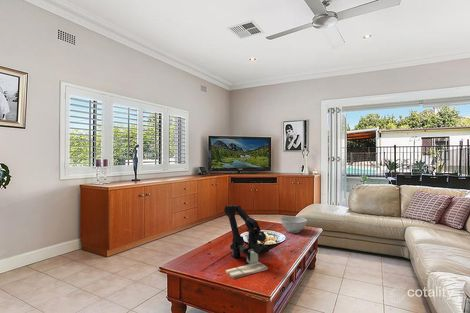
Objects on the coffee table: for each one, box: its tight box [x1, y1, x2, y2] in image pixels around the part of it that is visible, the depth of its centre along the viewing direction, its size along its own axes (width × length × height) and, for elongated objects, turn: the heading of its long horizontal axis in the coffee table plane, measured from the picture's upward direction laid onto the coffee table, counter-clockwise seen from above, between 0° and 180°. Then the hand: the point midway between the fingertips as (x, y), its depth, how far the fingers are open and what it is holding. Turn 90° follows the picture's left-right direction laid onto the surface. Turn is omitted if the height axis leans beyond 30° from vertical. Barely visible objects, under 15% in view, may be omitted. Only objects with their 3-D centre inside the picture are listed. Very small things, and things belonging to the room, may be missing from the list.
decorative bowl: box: [280, 215, 308, 234], centre depth 266 cm, size 27×27×12 cm
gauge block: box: [246, 250, 259, 265], centre depth 188 cm, size 10×5×7 cm, turn 30°
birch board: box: [225, 261, 269, 280], centre depth 174 cm, size 10×27×2 cm, turn 120°
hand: (252, 259), depth 187 cm, fingers closed on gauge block, 5 cm apart
